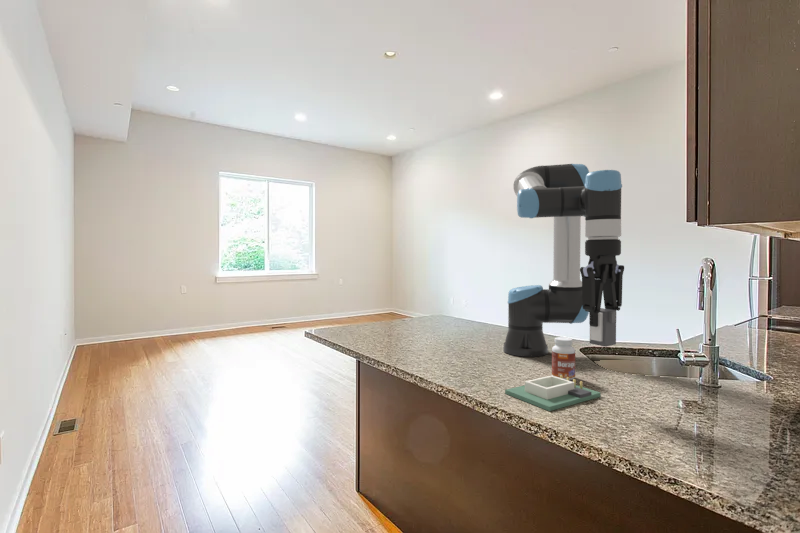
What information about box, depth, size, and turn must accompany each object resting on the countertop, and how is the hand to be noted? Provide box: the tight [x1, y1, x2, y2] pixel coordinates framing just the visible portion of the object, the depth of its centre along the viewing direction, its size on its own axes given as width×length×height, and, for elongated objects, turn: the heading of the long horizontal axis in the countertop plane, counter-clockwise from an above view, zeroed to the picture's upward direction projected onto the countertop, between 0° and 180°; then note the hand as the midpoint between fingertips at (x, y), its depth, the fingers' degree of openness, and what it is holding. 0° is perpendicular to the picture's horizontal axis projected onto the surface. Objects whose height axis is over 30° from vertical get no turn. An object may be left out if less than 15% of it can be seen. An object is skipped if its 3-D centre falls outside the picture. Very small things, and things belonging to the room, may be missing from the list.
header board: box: [504, 374, 602, 412], centre depth 106 cm, size 18×14×4 cm
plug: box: [589, 307, 617, 348], centre depth 99 cm, size 4×5×8 cm
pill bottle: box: [551, 336, 576, 381], centre depth 121 cm, size 6×6×11 cm
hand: (602, 338), depth 100 cm, fingers closed on plug, 4 cm apart
